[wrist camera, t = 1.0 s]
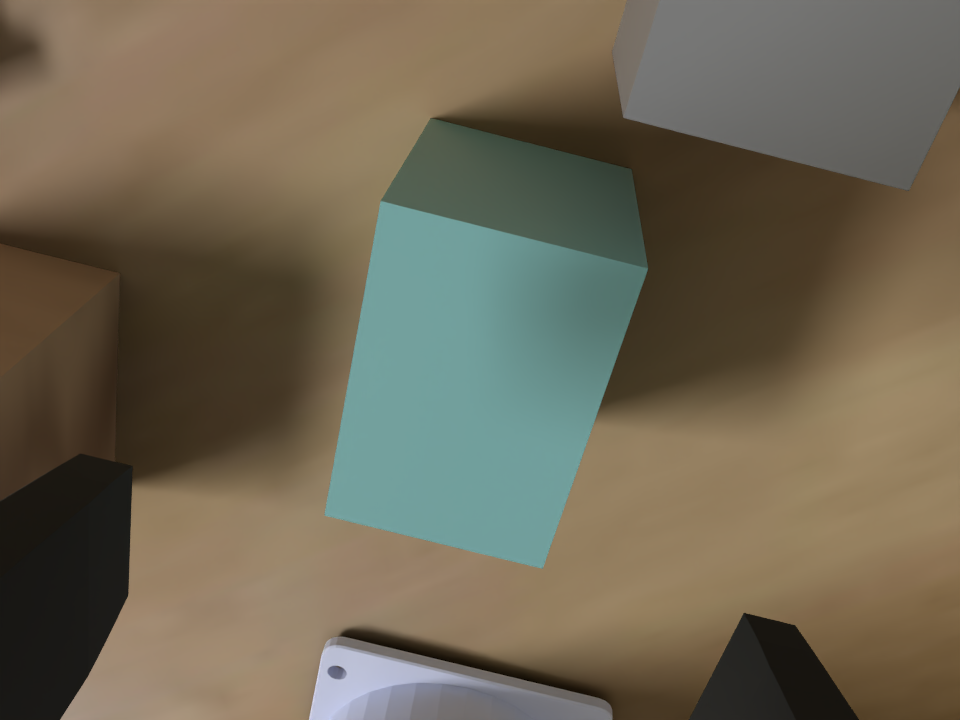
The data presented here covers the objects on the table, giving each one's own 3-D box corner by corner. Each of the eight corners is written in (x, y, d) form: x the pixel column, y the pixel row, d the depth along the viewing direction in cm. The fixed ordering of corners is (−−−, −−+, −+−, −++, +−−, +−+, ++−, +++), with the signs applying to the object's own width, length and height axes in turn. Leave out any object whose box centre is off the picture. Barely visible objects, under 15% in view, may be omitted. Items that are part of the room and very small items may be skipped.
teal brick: (550, 418, 20) (542, 568, 16) (380, 375, 20) (324, 515, 16) (631, 168, 17) (648, 268, 13) (431, 117, 17) (380, 200, 13)
